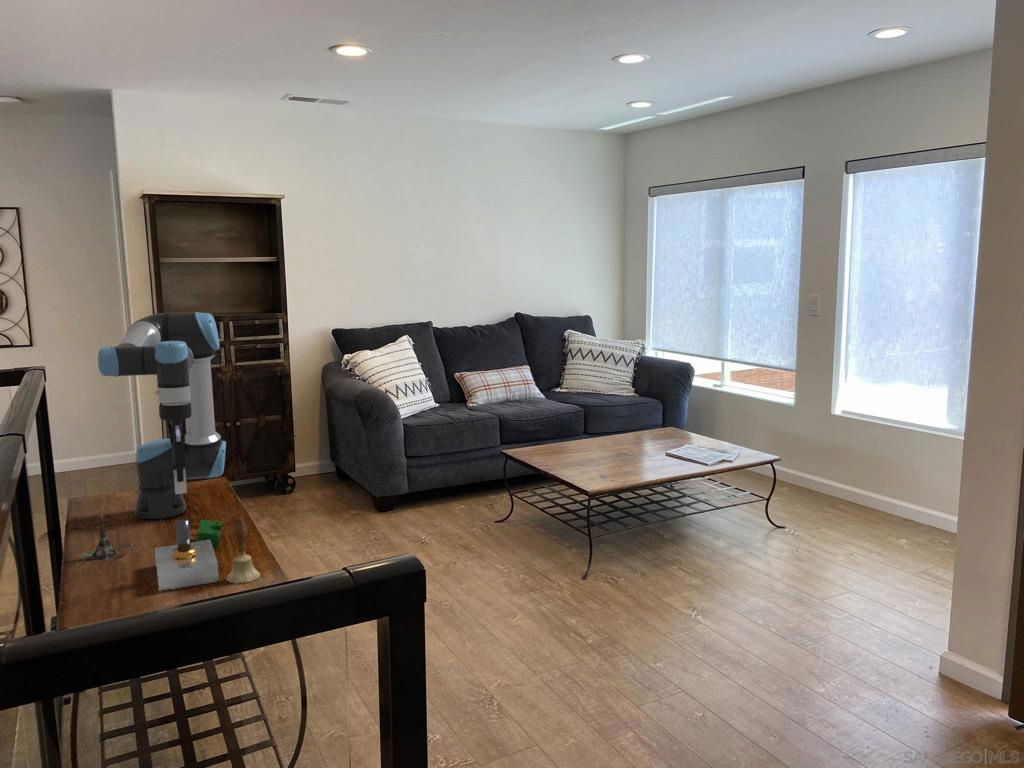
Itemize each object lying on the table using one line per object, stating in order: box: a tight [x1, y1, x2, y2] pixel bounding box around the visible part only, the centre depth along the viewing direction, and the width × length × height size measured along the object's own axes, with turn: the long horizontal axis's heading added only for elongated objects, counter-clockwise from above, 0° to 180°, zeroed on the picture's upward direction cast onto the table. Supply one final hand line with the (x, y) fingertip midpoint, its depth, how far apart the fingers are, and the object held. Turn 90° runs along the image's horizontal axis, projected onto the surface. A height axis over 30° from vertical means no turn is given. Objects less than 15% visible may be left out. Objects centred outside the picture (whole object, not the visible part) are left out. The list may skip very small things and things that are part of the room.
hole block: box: [154, 540, 220, 592], centre depth 204 cm, size 18×14×5 cm
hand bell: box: [226, 517, 261, 585], centre depth 201 cm, size 8×8×16 cm
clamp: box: [195, 519, 223, 548], centre depth 224 cm, size 12×6×9 cm, turn 12°
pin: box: [173, 518, 196, 560], centre depth 203 cm, size 6×6×14 cm
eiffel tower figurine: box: [75, 513, 134, 567], centre depth 215 cm, size 15×10×13 cm
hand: (181, 492), depth 200 cm, fingers closed
